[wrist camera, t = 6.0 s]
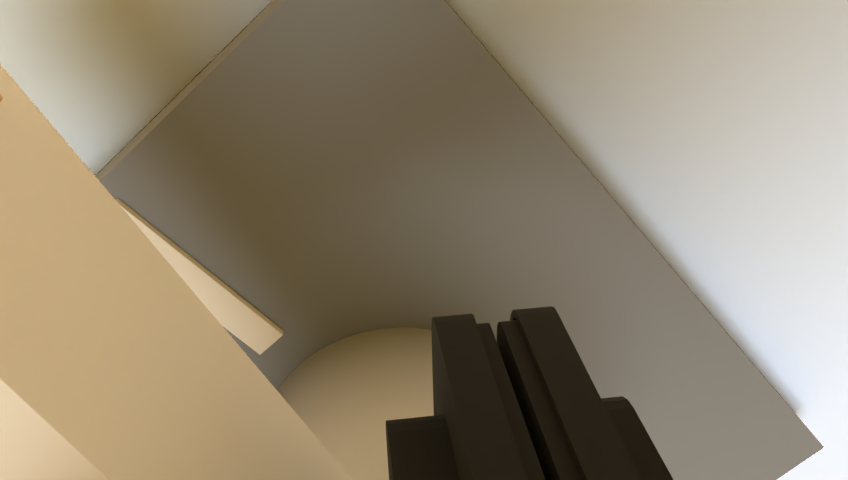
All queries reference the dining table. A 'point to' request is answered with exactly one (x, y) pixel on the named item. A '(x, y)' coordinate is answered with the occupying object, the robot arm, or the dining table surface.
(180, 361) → the cream piece
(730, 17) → the dining table surface
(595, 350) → the base
